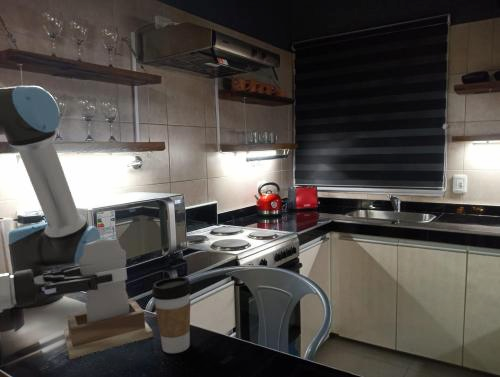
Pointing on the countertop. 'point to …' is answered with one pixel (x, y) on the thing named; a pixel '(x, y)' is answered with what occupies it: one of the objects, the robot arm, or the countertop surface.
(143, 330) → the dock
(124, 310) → the tall pale column
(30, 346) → the countertop surface
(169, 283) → the coffee cup
